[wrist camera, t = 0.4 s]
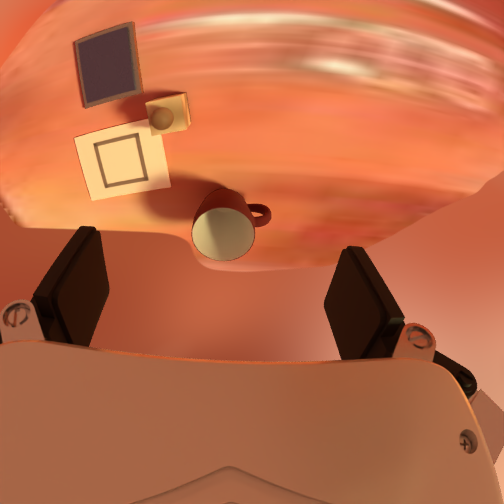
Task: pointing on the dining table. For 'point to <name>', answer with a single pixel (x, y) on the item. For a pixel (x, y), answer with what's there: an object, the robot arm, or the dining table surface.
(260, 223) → the mug
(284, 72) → the dining table surface
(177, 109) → the stamp
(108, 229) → the dining table surface
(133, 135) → the card
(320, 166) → the dining table surface
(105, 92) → the ink pad
